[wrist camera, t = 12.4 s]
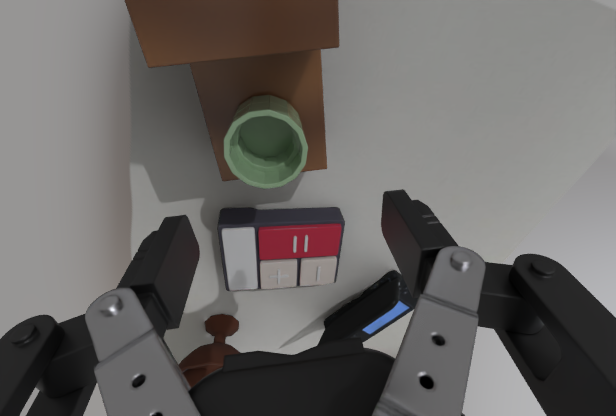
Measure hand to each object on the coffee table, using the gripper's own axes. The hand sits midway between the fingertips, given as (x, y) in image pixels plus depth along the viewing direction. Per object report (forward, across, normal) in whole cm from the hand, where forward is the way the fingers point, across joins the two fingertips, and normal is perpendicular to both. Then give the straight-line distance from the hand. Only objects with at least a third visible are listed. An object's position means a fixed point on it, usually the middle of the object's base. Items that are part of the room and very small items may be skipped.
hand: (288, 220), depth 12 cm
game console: (+21, -10, +34) cm, 41 cm away
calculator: (+21, +2, +19) cm, 29 cm away
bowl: (+15, +1, +1) cm, 16 cm away
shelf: (+21, +1, -2) cm, 22 cm away
